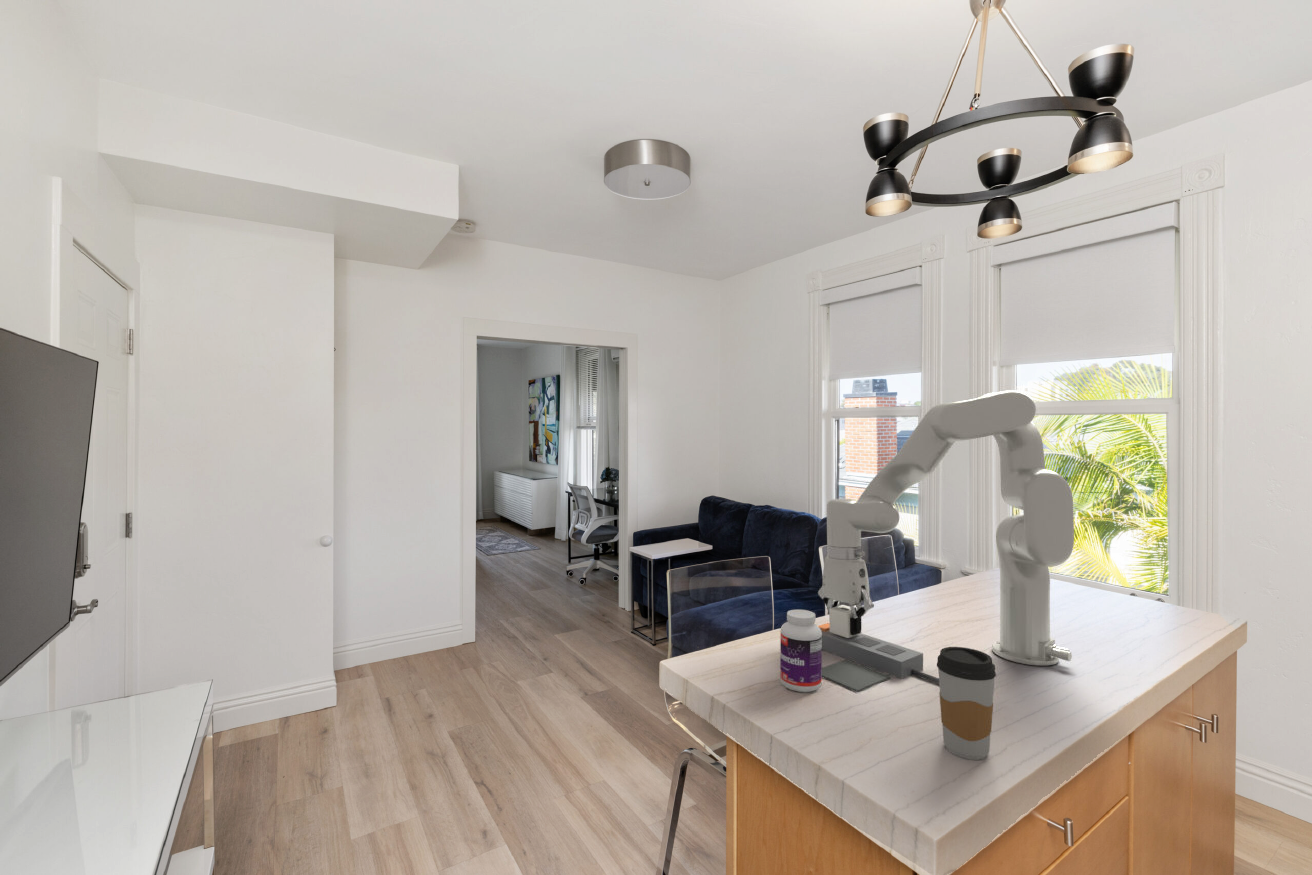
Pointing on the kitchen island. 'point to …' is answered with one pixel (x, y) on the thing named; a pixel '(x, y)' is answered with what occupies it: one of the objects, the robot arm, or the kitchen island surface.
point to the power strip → (875, 654)
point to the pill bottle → (801, 652)
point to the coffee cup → (966, 700)
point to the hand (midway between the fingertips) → (845, 629)
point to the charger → (840, 620)
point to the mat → (853, 675)
